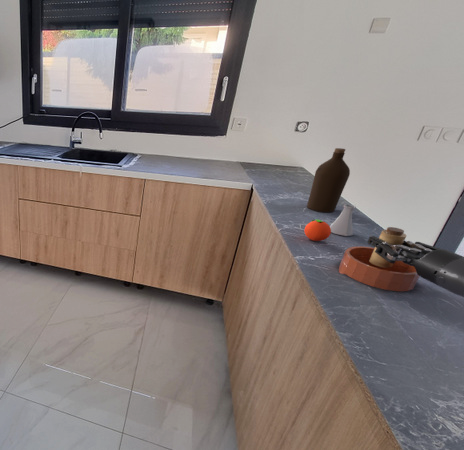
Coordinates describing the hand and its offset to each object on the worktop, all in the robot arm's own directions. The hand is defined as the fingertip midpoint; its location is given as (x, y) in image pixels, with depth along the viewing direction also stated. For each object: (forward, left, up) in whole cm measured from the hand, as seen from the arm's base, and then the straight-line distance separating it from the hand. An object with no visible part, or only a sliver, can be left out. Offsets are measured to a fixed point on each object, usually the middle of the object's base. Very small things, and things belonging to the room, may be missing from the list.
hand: (379, 239), depth 82 cm
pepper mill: (-1, +3, -6) cm, 7 cm away
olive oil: (-9, -54, -11) cm, 56 cm away
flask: (-6, -29, -11) cm, 32 cm away
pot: (-1, +3, -11) cm, 11 cm away
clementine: (+5, -20, -11) cm, 24 cm away
